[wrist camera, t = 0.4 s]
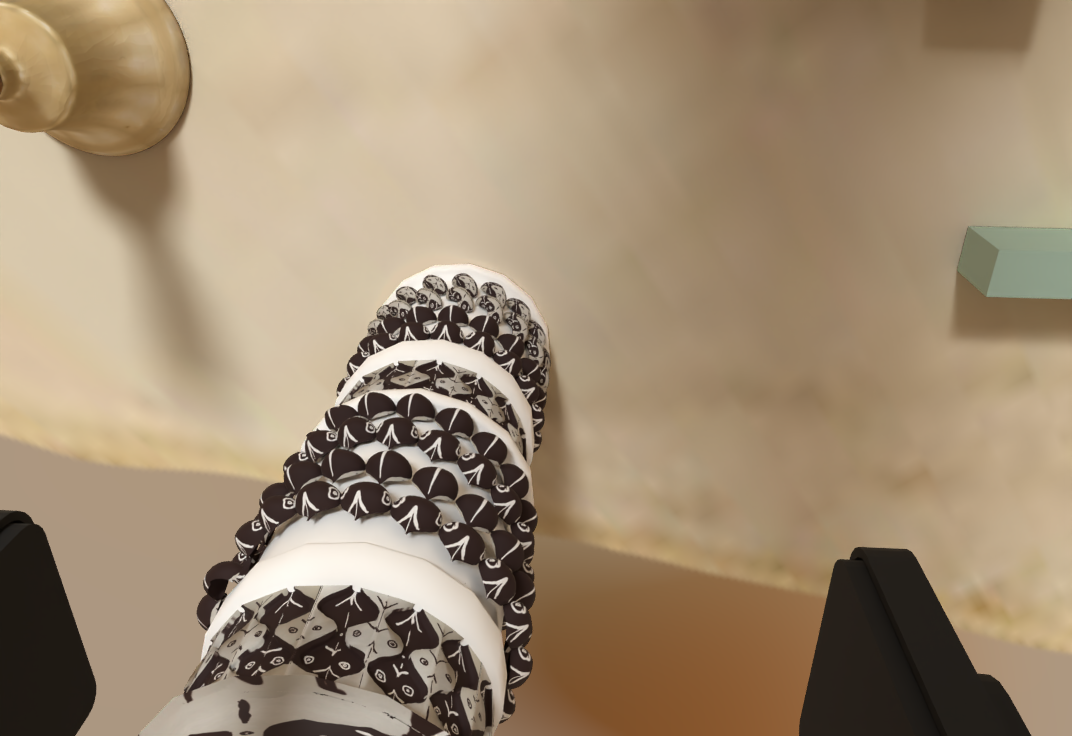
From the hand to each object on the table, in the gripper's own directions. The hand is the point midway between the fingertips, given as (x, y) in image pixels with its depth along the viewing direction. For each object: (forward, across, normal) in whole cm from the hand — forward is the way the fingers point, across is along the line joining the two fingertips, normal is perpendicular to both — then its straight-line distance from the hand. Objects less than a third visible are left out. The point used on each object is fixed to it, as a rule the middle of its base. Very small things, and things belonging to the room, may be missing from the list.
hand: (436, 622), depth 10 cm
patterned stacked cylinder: (+28, +4, +10) cm, 30 cm away
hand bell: (+28, +19, -3) cm, 34 cm away
